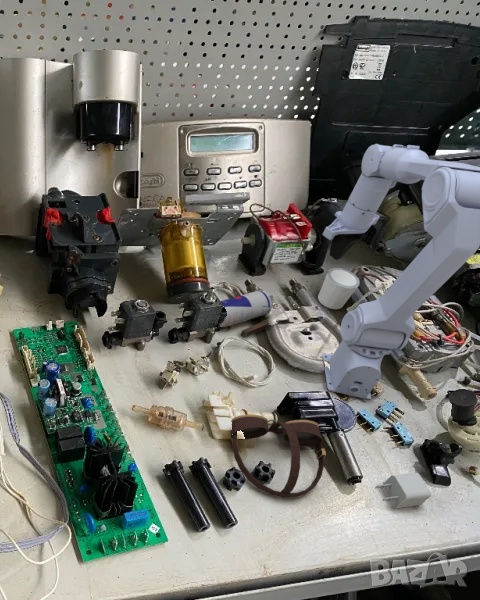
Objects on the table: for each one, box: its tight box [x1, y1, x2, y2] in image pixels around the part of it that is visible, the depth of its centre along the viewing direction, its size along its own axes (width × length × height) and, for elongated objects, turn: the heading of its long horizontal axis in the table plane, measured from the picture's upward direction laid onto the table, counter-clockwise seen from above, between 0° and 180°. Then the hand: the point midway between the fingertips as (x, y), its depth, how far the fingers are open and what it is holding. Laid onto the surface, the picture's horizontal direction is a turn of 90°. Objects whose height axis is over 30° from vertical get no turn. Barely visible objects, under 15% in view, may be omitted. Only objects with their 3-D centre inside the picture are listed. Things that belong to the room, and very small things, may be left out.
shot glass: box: [317, 267, 361, 310], centre depth 117 cm, size 7×7×7 cm
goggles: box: [229, 413, 327, 499], centre depth 84 cm, size 15×13×10 cm
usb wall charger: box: [374, 472, 432, 509], centre depth 83 cm, size 4×7×4 cm, turn 99°
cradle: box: [240, 288, 284, 339], centre depth 113 cm, size 13×9×2 cm
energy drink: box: [219, 289, 273, 328], centre depth 111 cm, size 5×5×12 cm
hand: (334, 256), depth 114 cm, fingers closed
